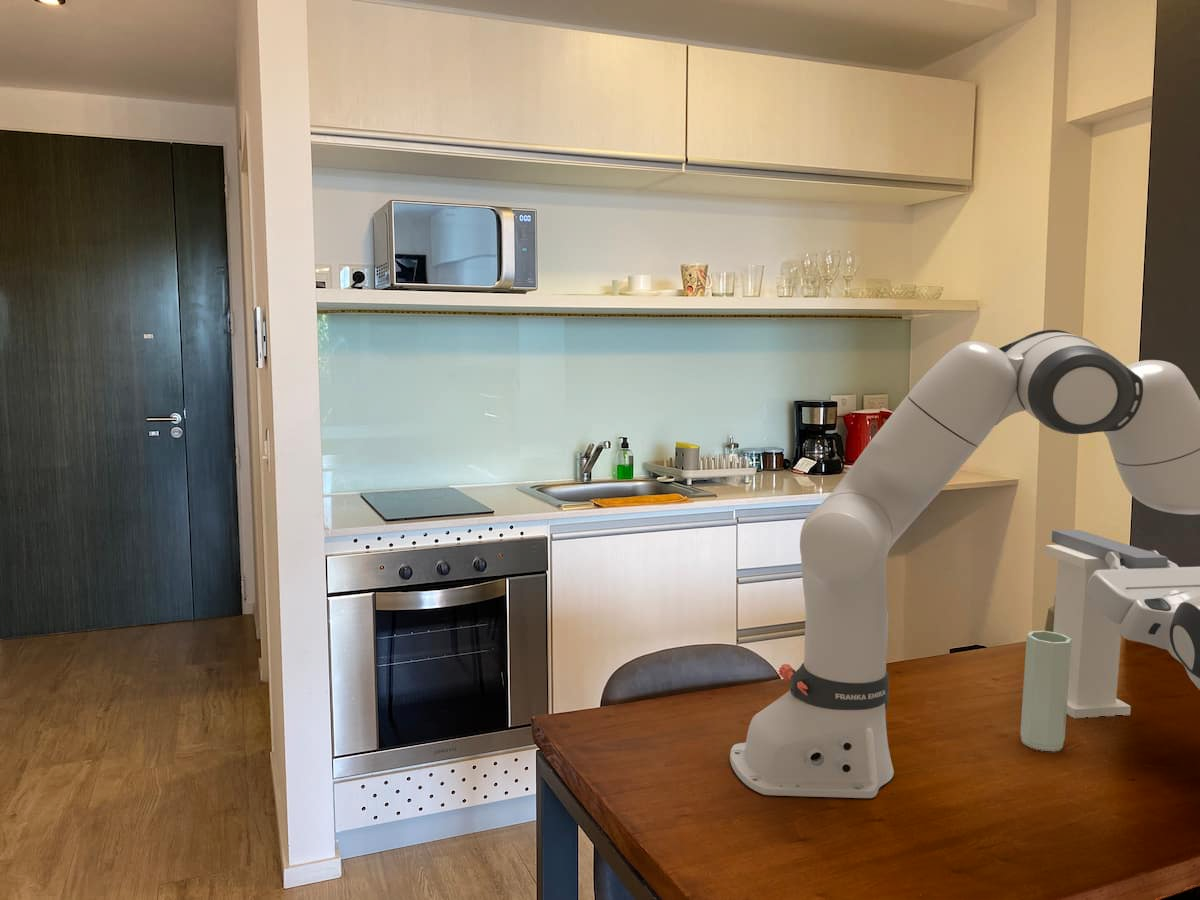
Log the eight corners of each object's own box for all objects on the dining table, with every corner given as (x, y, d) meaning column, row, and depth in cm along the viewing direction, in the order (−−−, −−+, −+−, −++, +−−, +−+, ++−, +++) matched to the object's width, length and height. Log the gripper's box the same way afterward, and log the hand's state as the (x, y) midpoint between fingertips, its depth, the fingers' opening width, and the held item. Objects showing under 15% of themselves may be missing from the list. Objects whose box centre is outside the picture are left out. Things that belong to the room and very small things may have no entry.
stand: (1073, 718, 146) (1085, 559, 143) (1035, 694, 156) (1045, 545, 153) (1130, 715, 148) (1142, 557, 144) (1088, 691, 157) (1099, 543, 154)
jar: (1036, 753, 133) (1043, 643, 131) (1013, 736, 139) (1019, 631, 137) (1071, 751, 134) (1079, 642, 132) (1047, 734, 140) (1054, 630, 138)
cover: (1136, 571, 136) (1137, 557, 135) (1051, 542, 155) (1052, 530, 155) (1166, 570, 136) (1167, 557, 136) (1078, 541, 156) (1079, 529, 156)
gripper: (1262, 602, 129) (1199, 537, 140) (1132, 608, 126) (1077, 540, 137) (1240, 633, 133) (1180, 566, 144) (1113, 639, 130) (1061, 570, 141)
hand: (1129, 553), depth 140 cm, fingers closed on cover, 5 cm apart
